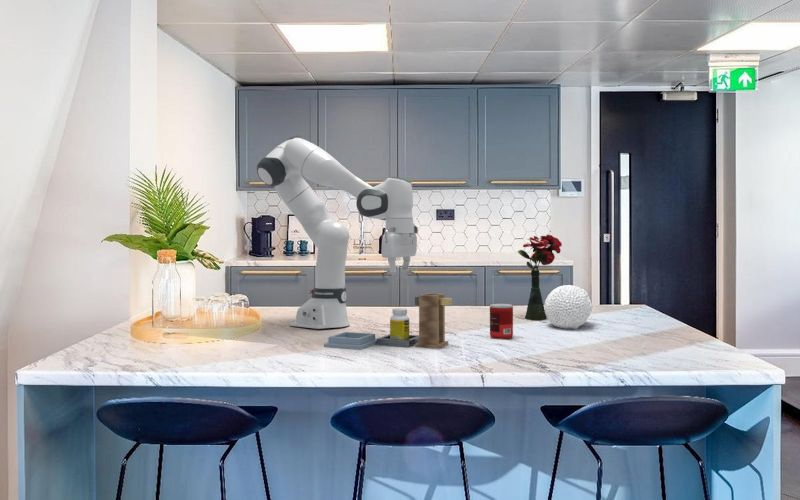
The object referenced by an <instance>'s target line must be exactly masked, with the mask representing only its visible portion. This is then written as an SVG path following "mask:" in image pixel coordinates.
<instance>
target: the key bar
mask: <svg viewBox="0 0 800 500" xmlns="http://www.w3.org/2000/svg"><path fill="white" fill-rule="evenodd" d="M452 304H453V297H445V298H439V305H445V306H452ZM414 306H419V295H417V296H414Z"/></svg>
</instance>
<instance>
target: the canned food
mask: <svg viewBox="0 0 800 500" xmlns="http://www.w3.org/2000/svg"><path fill="white" fill-rule="evenodd" d="M513 335H514V306H513V304H509V303H494V304H492V303H491V304H490V305H489V337H490V338H491V339H496V340H508V339H512V338H513Z"/></svg>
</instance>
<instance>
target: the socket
mask: <svg viewBox="0 0 800 500" xmlns="http://www.w3.org/2000/svg"><path fill="white" fill-rule="evenodd" d="M376 340H377V344H376V345H377V346H386V347H387V346H388V347H399V348H400V347H401V348H411V347H413V346H415V344H416V343H418V342H419V334H418V335H417V334H415V335H414V334H409V340H397V339H390V333H389V334H386V335H383V336H380V337H378V338H376Z"/></svg>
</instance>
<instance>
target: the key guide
mask: <svg viewBox="0 0 800 500" xmlns="http://www.w3.org/2000/svg"><path fill="white" fill-rule="evenodd" d="M418 296H419V305H418V335H419V342H418V343H416V344H415V345H414V346H415V347H416V348H427V349H442V348H444V347H446V346H448V345H449V340H446V339H445V338H446V337H445V336H446V334H445V333H446V331H445V330H446V326H445V324H446V317H445V316H446V314H445V312H446V311H445V310H446V309H445V308H446V305H439V298H446V297H445V293H429V292H428V293H427V292H426V293H425V294H419V295H418Z"/></svg>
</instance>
